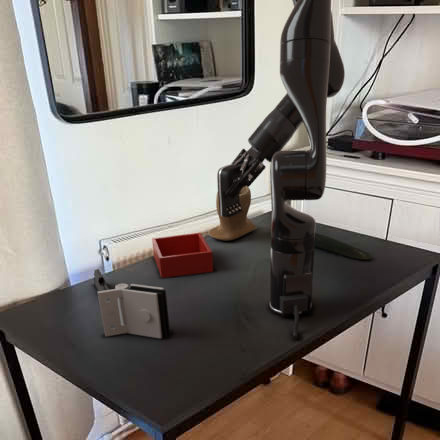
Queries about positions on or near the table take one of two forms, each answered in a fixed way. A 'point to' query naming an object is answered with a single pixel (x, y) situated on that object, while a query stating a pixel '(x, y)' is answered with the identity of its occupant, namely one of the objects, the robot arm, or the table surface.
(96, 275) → the lighting fixture
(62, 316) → the table surface
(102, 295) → the hinge
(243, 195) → the stone cup
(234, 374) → the table surface
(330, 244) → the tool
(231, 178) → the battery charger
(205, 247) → the open red box
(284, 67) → the robot arm
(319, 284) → the table surface
